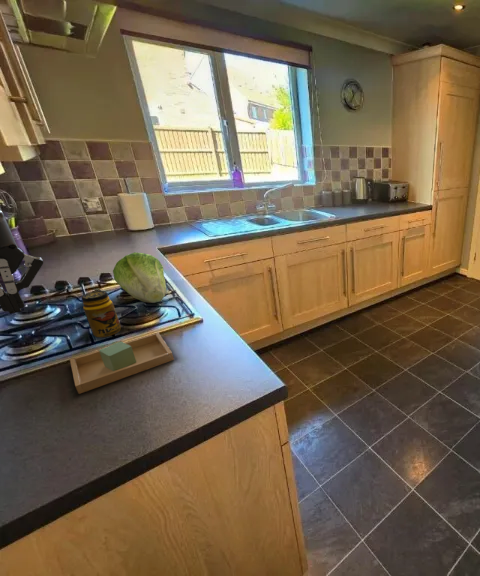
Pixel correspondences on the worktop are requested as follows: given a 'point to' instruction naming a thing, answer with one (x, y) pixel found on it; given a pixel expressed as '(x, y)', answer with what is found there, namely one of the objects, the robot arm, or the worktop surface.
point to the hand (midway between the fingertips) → (15, 311)
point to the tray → (95, 374)
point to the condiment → (101, 314)
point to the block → (117, 356)
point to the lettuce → (141, 277)
